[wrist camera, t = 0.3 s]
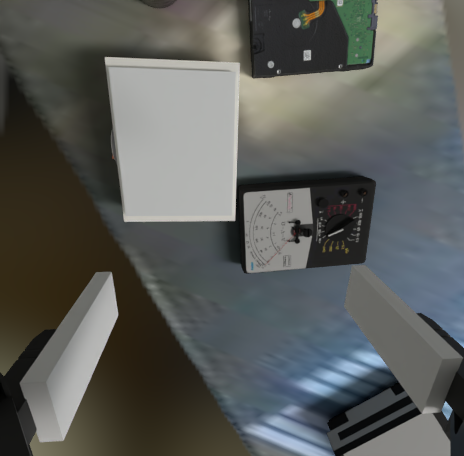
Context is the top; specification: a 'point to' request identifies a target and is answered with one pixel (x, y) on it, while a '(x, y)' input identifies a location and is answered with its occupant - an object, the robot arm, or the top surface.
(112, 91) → the scale
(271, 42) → the disk drive
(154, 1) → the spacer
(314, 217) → the multimeter
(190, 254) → the top surface
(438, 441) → the game console
